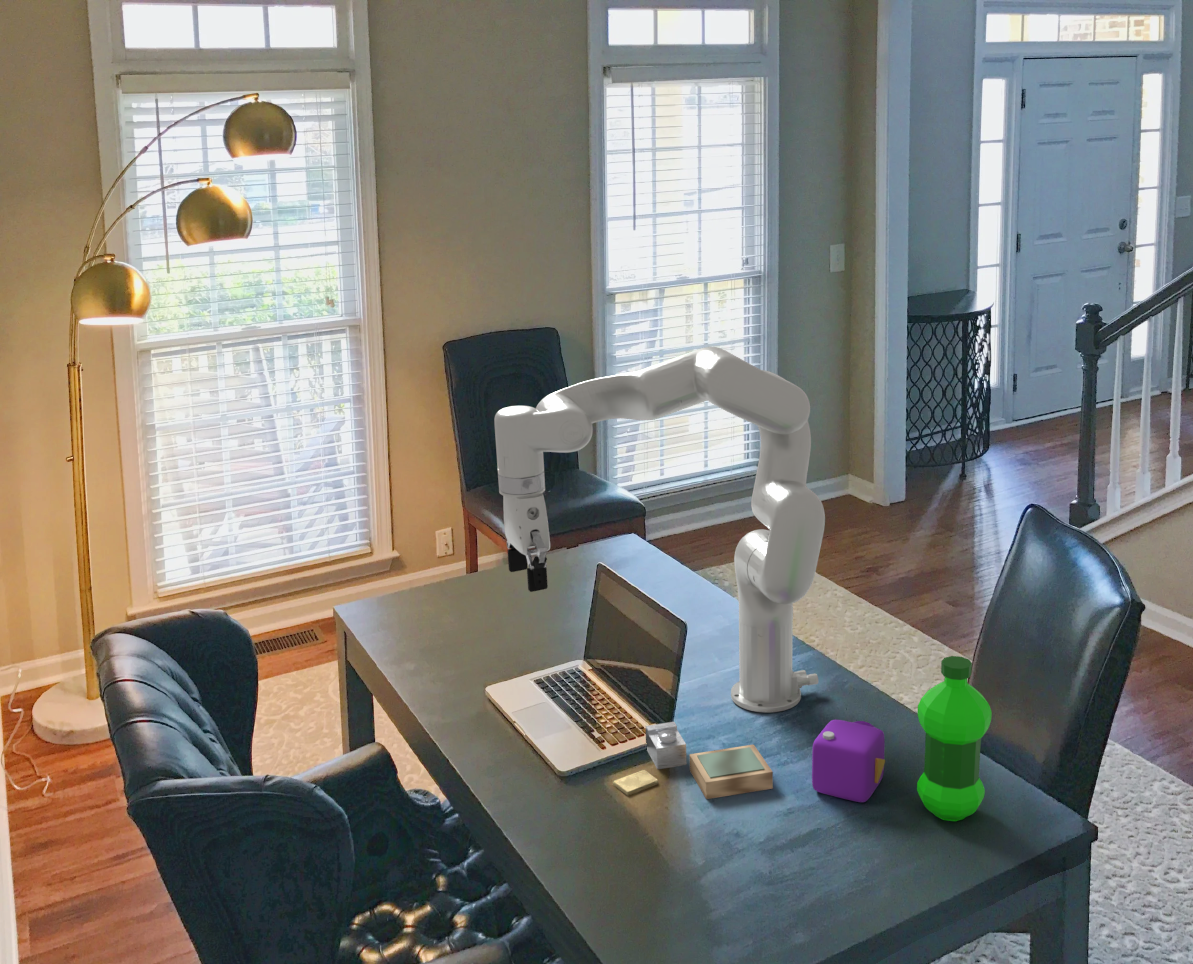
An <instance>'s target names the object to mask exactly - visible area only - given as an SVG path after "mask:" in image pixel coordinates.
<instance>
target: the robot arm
mask: <svg viewBox="0 0 1193 964" xmlns="http://www.w3.org/2000/svg"><path fill="white" fill-rule="evenodd" d="M707 401H708V402H709V403H711V404H713V405H714V406H716V407H718V408H719V409H721V410H724V411H726V412H727V413H729V414H731V415H733V416H736V417H737V418H740V419H742V420H745V421H746V422H749V423H750V424H754V425H755V426H757V428H758V432H759V436H760V450H759V457H758V463H757V468H756V474H755V480H754V484H753V489H752V490H753V491H752V495H751V501H750V502H751V503H750V504H751V510H752V513H753V515H754V517H755V518H756V519H757V520H758V521H759V522H760V523H761V524H763V525H764V526H765V527H766V528H767V529H755V530H752V531H750V532H747V533H746V534H745V535H744V536H742V538H740V540H739V542H738V543H737V546H736V548H735V550H734V551H735V552H734V559H733V562H734V572H735V573H734V574H735V579H736V580H735V581H736V587H737V595H738V646H739V647H738V650H739V651H738V654H739V655H738V660H739V661H738V662H739V663H738V664H739V665H738V667H739V672H738V673H739V674H738V675H739V681H737V682H736V683H735V684H733V685H732V687H731V689H730V697H731V700H732V702H733V703H734V704H736V705H737V706H738V707H740V708H742V709H744V710H747V711H750V712H756V713H766V714H767V713H779V712H783V711H787V710H790V709H792V708H793V707H795V706H797V705H798V704H799V703H800V701H801V699H802V691H801V689H802V688H803V686H812V685H813V686H814V685H818V684H819V677H818V674H817V673H810V674H807V672H806V671H807V670H805V669H803V670H797V671H793V634H794V633H793V629H794V628H793V626H794V625H793V620H794V605H793V604H794V603H796V602H799V601H800V600H801V599H802V598H804V597H805V596H806V595H807V594H808V592H809V590H810V589H811V587H812V585H813V582H814V578H815V574H816V572H817V571H816V570H817V567H818V562H819V556H820V553H821V552H820V551H821V546H822V542H823V537H824V532H825V527H826V526H825V523H826V516H825V513H826V512H825V509H824V505H823V502H822V501H821V499H820V497H819V496H818V495H817V494H816V493H815V492H814V490H812V489H810V488H809V487H807V477H808V470H809V463H810V457H811V450H812V436H811V434H812V433H811V428H810V423H809V418H810V414H811V404H810V400H809V397H808V394H806V392H805V391H804V390H803V389H802V388H801V387H799V386H797V385H796V384H794V383H793V382H791V381H789V380H786V379H785V378H784V377H782V376H780V375H779V374H776V373H775V372H772V371H769V370H764V369H760V368H758V367H756V366H754V365H753V364H751V363H749V362H747V361H745V360H743V359H742V358H740V357H738V356H737V355H735V354H733V353H731V352H729V351H727V350H725V349H723V348H720V347H718V346H706V347H705V346H704V347H701V348H696V349H695V350H692V351H690V352H687V353H684V354H681V355H678V356H676V357H672V358H670V359H667V360H665V361H664V360H663V361H661V362H659V363H656V364H652V365H649V366H647V367H645V368H642V369H639V370H635V371H630V372H623V373H619V374H615V375H609V376H603V377H602V376H601V377H597V378H592V379H589V380H585V381H582V382H578V383H576V384H573V385H570V386H568V387H564V388H562V389H559V390H557V391H554V392H552V393H549V394H547V395H546V396H544V397H543V398H542V399H541V400H540V401H539V402H538V404H537V405H536V407H533V406H529V405H510V406H507V407H503V408H501V409H499V410H498V411H497V412H496V413H495V415H494V434H495V435H494V436H495V438H494V439H495V449H496V463H497V466H496V467H497V478H498V480H497V481H498V492H499V494H500V495H501V496H503V497H502V498H503V499H502V501H503V502H502V503H503V504H502V505H503V507H502V508H503V509H502V510H503V524H504V525H503V527H504V535H505V538H506V547H507V550H506V551H507V562H508V571H509V572H510V573H515V572H520V571H526V574H527V590H528V592H529V593H534V592H539V591H541V590H543V591H544V590H547V589H548V572H547V571H548V569H547V567H548V563H547V560H548V558H547V553H548V552H549V551H550V549H551V541H550V540H551V539H550V531H549V521H548V520H549V519H548V514H547V512H548V511H547V506H546V501H545V497H544V492H545V491H546V482H545V481H546V479H545V464H544V463H545V461H544V453H550V452H551V453H573V452H579V451H580V450H581V449H584V448H585V447H586V446H587V445H588V444H589V443H590V441H591V439H592V436H593V431H594V430H593V429H594V427H593V424H594V423H595V424H596V423H598V422H602V421H608V420H616V419H617V420H618V419H625V420H633V421H655V420H657V419H660V418H663V417H665V416H669V415H671V414H674V413H676V412H679V411H682V410H685V409H687V408H690V407H693V406H695V405H699V404H702V403H705V402H707ZM535 555H536V556H535ZM532 556H534V558H532Z"/></svg>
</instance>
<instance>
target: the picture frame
mask: <svg viewBox="0 0 1193 964" xmlns="http://www.w3.org/2000/svg"><path fill="white" fill-rule="evenodd" d="M689 772H690V773H691V775H692V777H693V779H694V780H695V782H696V783H697V786H698V787H699V789H700V791H701V792H702V794H703V796H704V798H705V799H706V800H710V799H711V800H712V799H716V798H723V797H728V796H735V795H742V794H746V793H754V792H760V791H767V790H770V789H771V790H773V789H774V787H773V783H774V782H773V780H774V779H773V778H774V774H773V773H774V772H773V770H772V768H771V767H770V766H769V764H768V763H767V761H766V760H765V759H764V757H763V756H762V754H761V753H760V752H759V750H758V748H757V747H756V746H755V745H754V744H747V745H741V746H740V745H739V746H736V747H735V746H734V747H729V748H728V747H727V748H723V749H722V748H721V749H717V750H709V751H708V750H707V751H704V752H703V751H702V752H696V753H690V754H689Z"/></svg>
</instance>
